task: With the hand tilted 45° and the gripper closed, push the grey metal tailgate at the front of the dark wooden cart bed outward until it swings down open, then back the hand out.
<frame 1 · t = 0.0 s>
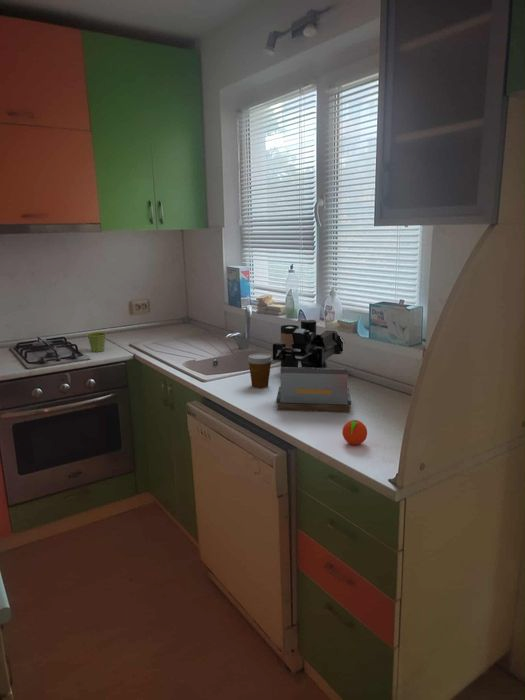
hand: (288, 359, 175), 17 cm above the countertop, tool horizontal, fingers open, 9 cm apart
travel mug: (289, 373, 219), on the countertop
tailgate: (313, 385, 172), point 9 cm above the countertop, hinge at 0.0°
plant pot: (97, 351, 261), on the countertop
cart bed: (313, 404, 180), on the countertop
disposable coffee cup: (260, 386, 201), on the countertop
clementine: (353, 445, 146), on the countertop
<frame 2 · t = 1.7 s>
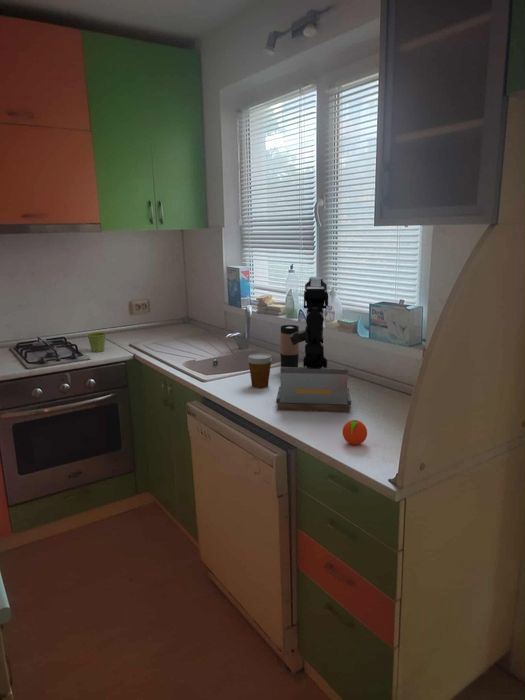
hand: (314, 367, 182), 12 cm above the countertop, tool pointing down, fingers open, 6 cm apart
nothing on the countertop moved.
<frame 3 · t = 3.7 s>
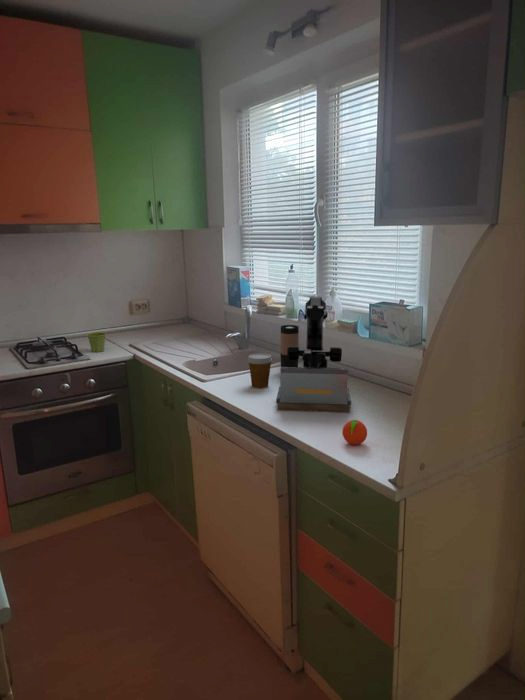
hand: (313, 375, 176), 11 cm above the countertop, tool tilted 45°, fingers closed
nothing on the countertop moved.
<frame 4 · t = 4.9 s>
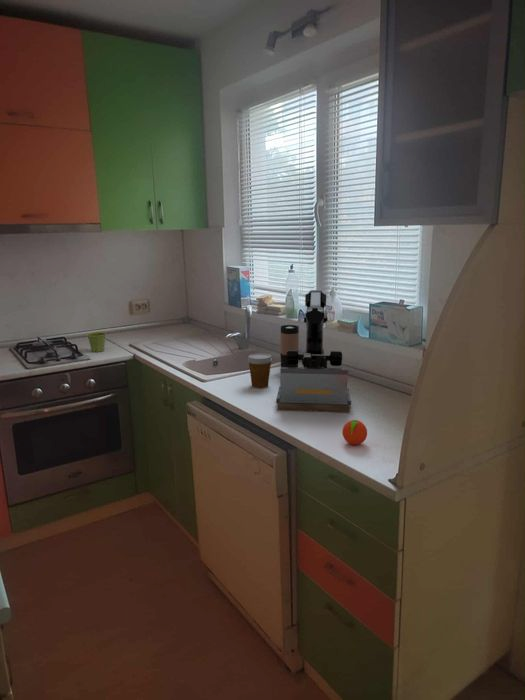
hand: (313, 379, 172), 11 cm above the countertop, tool tilted 45°, fingers closed, pressing on tailgate
tailgate: (313, 385, 171), point 9 cm above the countertop, hinge at 1.8°, touching gripper
everything else where it was.
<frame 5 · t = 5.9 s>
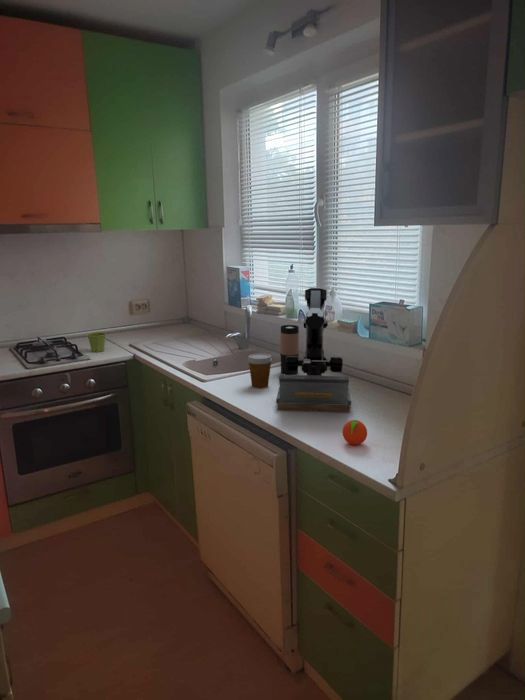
hand: (313, 386, 168), 10 cm above the countertop, tool tilted 45°, fingers closed, pressing on tailgate
tailgate: (313, 390, 169), point 8 cm above the countertop, hinge at 29.3°, touching gripper
everything else where it was.
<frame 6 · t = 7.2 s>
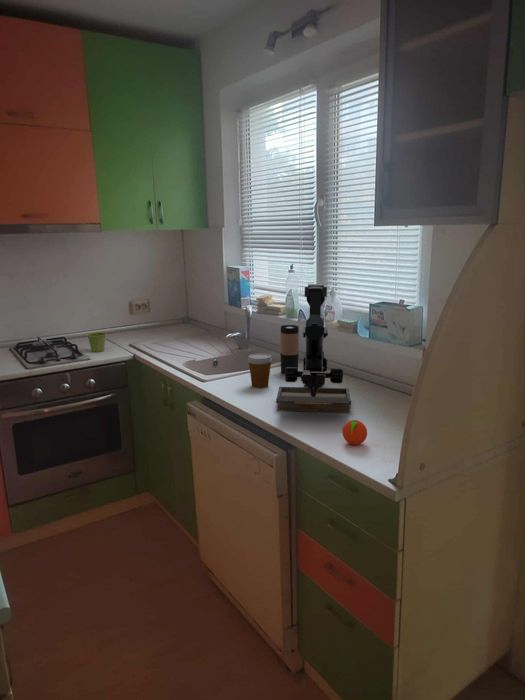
hand: (313, 398, 164), 7 cm above the countertop, tool tilted 45°, fingers closed, pressing on tailgate
tailgate: (313, 401, 166), point 6 cm above the countertop, hinge at 66.2°, touching gripper
everything else where it was.
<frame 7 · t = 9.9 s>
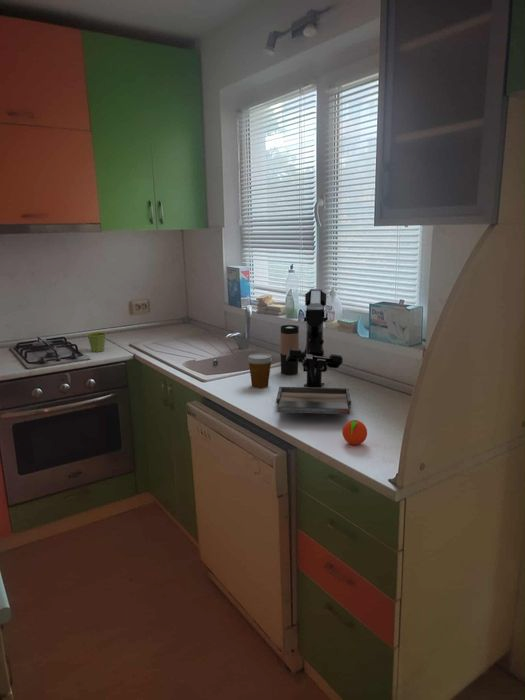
hand: (313, 381, 174), 9 cm above the countertop, tool tilted 40°, fingers closed
tailgate: (313, 406, 166), point 4 cm above the countertop, hinge at 82.4°
everything else where it was.
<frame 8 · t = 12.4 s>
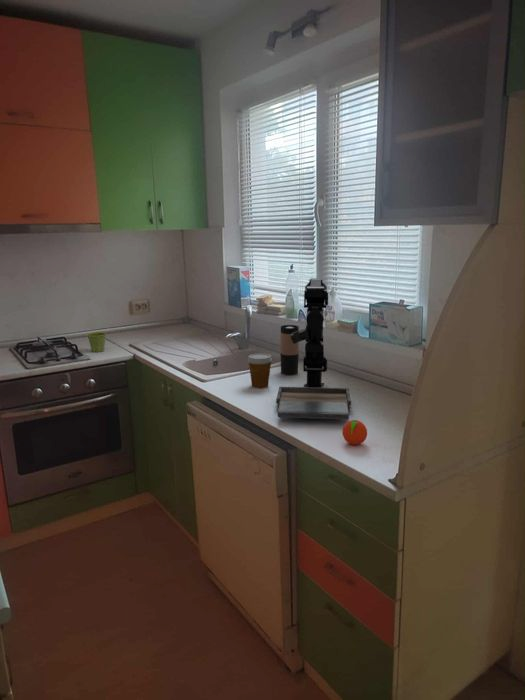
hand: (314, 365, 184), 12 cm above the countertop, tool pointing down, fingers closed
tailgate: (313, 409, 166), point 3 cm above the countertop, hinge at 90.1°
everything else where it was.
at the end: tailgate at +90° (first picture: +0°); clementine moved 0.2 cm from its start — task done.
